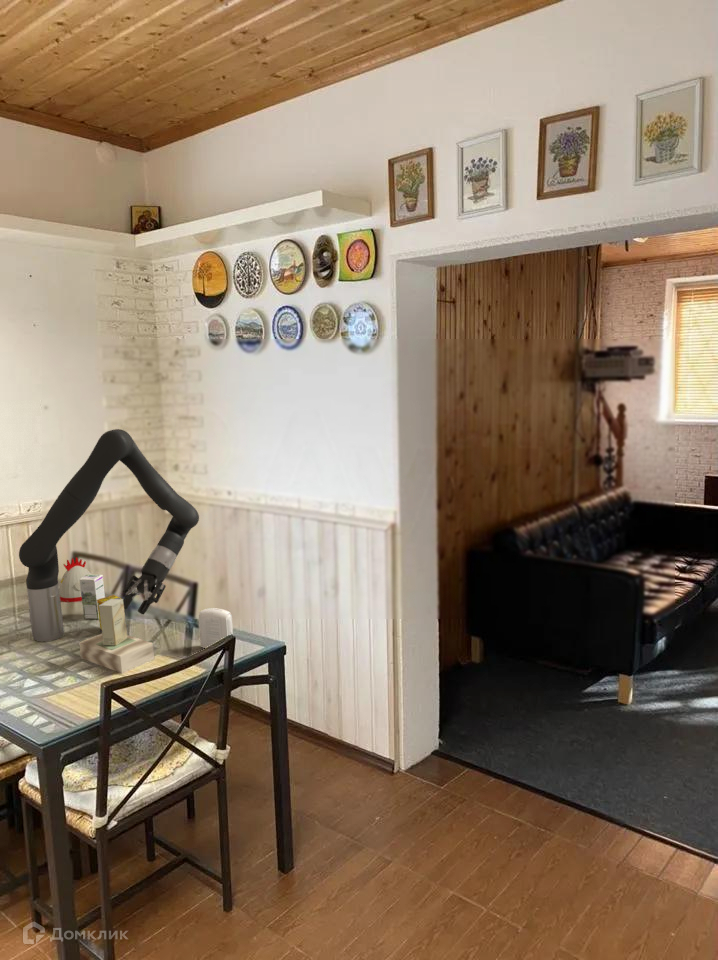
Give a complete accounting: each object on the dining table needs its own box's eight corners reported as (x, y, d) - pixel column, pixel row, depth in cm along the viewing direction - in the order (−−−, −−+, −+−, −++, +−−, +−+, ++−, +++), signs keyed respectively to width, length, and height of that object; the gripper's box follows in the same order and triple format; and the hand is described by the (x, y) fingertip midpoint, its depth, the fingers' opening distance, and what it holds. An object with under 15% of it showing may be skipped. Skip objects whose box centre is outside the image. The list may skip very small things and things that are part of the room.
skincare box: (116, 646, 208) (111, 606, 206) (102, 645, 209) (98, 605, 207) (128, 637, 214) (123, 598, 212) (114, 637, 215) (110, 598, 213)
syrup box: (107, 613, 251) (103, 573, 249) (98, 620, 245) (94, 579, 243) (92, 613, 252) (88, 573, 250) (83, 619, 246) (78, 578, 244)
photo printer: (236, 646, 217) (233, 607, 215) (229, 652, 213) (226, 612, 211) (205, 643, 220) (202, 605, 218) (198, 649, 216) (195, 610, 214)
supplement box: (117, 626, 239) (113, 594, 237) (125, 630, 235) (122, 598, 233) (99, 631, 235) (96, 599, 233) (108, 635, 231) (104, 603, 229)
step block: (81, 658, 214) (79, 641, 213) (113, 645, 222) (111, 629, 221) (122, 673, 202) (120, 655, 201) (154, 659, 211) (152, 642, 210)
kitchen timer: (53, 596, 273) (48, 558, 270) (89, 587, 282) (85, 550, 280) (67, 604, 263) (63, 565, 260) (104, 595, 272) (100, 556, 269)
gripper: (136, 554, 224) (108, 601, 217) (166, 560, 215) (137, 609, 208) (152, 566, 229) (125, 612, 222) (182, 572, 220) (154, 620, 213)
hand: (131, 610), depth 215 cm, fingers open, 8 cm apart
